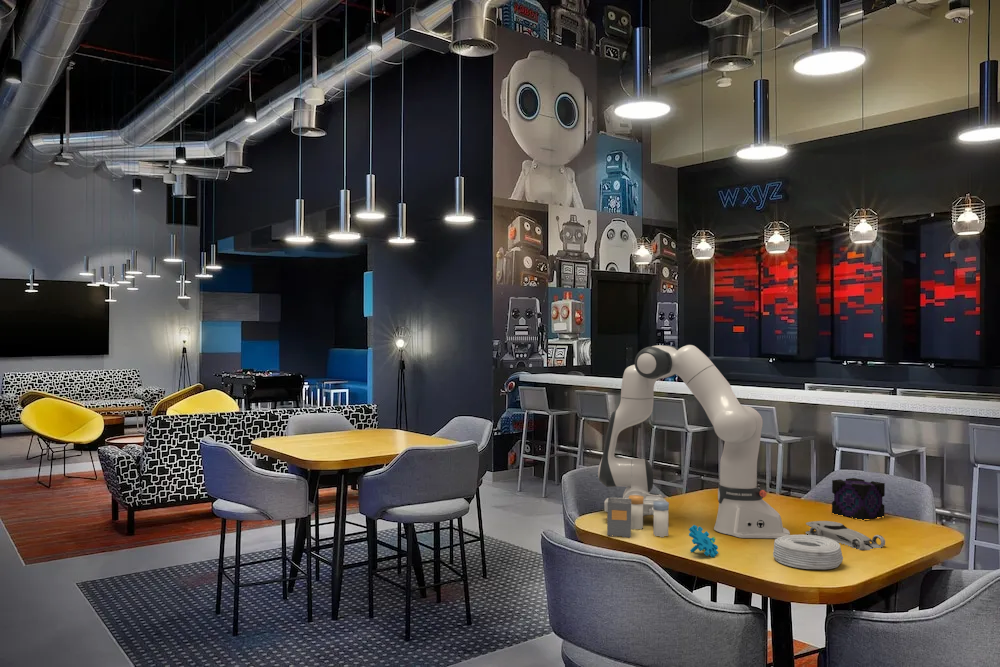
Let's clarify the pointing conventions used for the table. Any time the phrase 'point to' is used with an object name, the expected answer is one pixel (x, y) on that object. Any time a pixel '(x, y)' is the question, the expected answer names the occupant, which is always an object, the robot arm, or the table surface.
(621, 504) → the box
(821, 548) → the cable
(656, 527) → the blue cap canister
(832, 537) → the car model
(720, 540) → the table surface
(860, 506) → the energy cube
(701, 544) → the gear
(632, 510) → the orange cap canister
